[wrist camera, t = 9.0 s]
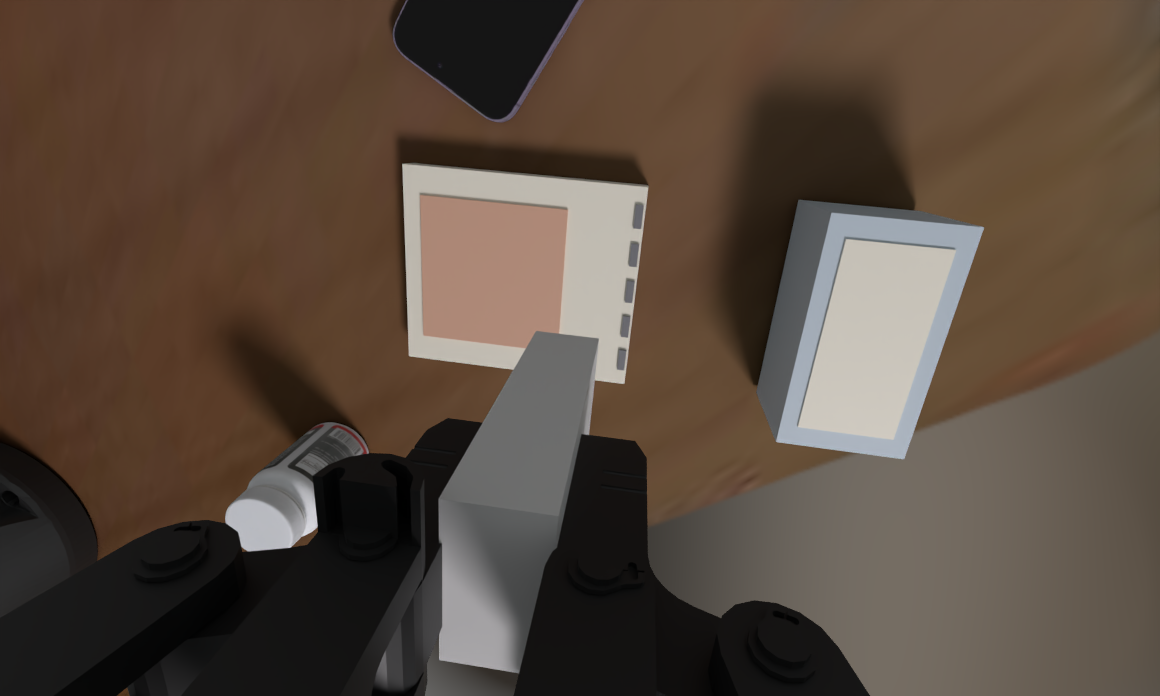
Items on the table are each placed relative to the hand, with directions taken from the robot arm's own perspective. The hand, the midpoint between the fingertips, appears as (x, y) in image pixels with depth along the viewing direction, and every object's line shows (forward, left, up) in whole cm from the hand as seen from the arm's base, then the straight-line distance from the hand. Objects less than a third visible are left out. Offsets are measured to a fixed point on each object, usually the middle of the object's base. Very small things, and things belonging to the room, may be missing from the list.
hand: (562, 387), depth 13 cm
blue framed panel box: (+12, -2, -18) cm, 22 cm away
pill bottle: (-18, -16, -19) cm, 30 cm away
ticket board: (-5, -2, -19) cm, 19 cm away
